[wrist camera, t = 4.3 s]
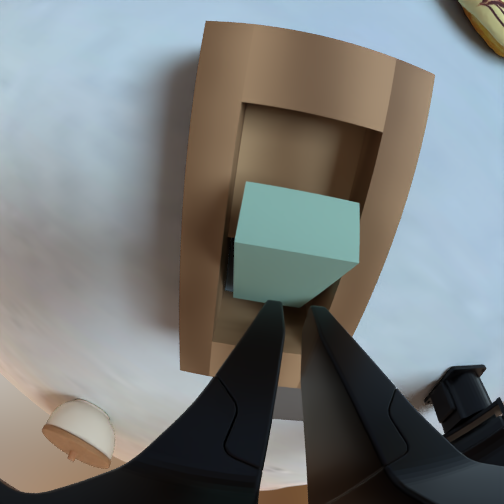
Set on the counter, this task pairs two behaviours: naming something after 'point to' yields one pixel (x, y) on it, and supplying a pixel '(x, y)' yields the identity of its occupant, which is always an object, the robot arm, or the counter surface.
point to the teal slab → (292, 244)
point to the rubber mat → (288, 404)
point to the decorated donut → (487, 21)
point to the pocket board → (290, 168)
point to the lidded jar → (82, 433)
